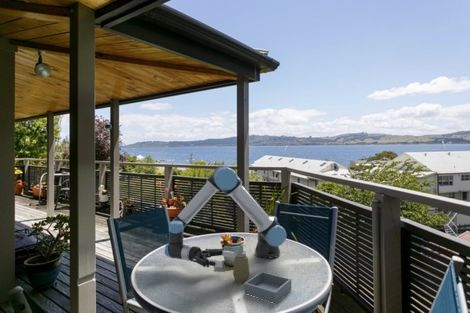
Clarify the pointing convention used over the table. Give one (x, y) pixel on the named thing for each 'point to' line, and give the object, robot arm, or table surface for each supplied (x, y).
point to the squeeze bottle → (241, 267)
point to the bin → (268, 286)
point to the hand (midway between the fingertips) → (228, 259)
